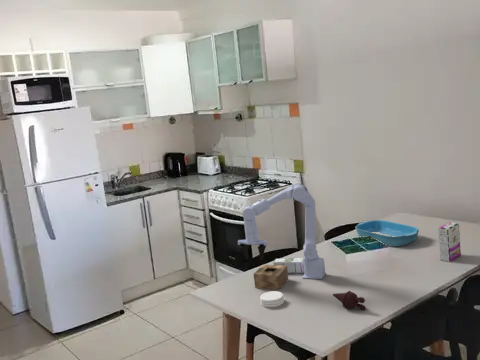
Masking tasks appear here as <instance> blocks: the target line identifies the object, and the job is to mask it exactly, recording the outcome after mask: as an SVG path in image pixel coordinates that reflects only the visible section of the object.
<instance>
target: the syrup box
mask: <svg viewBox="0 0 480 360" xmlns="http://www.w3.org/2000/svg"><path fill="white" fill-rule="evenodd" d="M273 265H283V266H287V271H288V274H293V273H294V274H296V273H298V274H299V273H305V272H304V262H303V257H293V258H292V257H289V258H287V257H286V258H284V257H283V258H275V259H274V260H273Z"/></svg>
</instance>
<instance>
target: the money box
mask: <svg viewBox="0 0 480 360" xmlns="http://www.w3.org/2000/svg"><path fill="white" fill-rule="evenodd" d="M267 271H274V272H267ZM253 279H254V280H253V281H254V288H255V289H266V290H267V289H269V290H273V289H274V290H281V289H282V288H283V286H284V285H285V284H286V283H287V282H288V280H289V273H288V271H287V266H283V265H274V264H262V265H261V266H259V267H258V269H257V270H256V271H255V272H254V273H253Z"/></svg>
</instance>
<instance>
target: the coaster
mask: <svg viewBox="0 0 480 360" xmlns="http://www.w3.org/2000/svg"><path fill="white" fill-rule="evenodd" d="M284 297H285V296H284V294H283V292H281V291H279V290H277V291H276V290H272V291H270V290H269V291H266V292H264V293H262V294H261V295H260V298H259V299H260V301H259V302H260V305H261V306H262V307H264V308H277V307H280V306H282V305H283V304H284V303H285V299H284Z"/></svg>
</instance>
